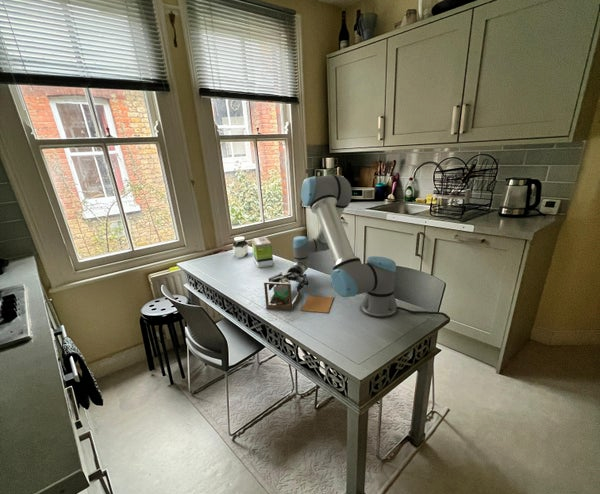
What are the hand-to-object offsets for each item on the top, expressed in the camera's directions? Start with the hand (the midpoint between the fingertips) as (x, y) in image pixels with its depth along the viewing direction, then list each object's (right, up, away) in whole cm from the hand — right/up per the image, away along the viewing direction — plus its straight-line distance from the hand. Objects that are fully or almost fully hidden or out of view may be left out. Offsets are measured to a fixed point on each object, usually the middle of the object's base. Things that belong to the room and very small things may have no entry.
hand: (283, 288), depth 145 cm
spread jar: (-32, +22, +71) cm, 81 cm away
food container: (0, -6, +3) cm, 7 cm away
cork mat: (+16, -7, -1) cm, 17 cm away
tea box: (-16, +16, +54) cm, 59 cm away
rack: (0, -6, +3) cm, 7 cm away
